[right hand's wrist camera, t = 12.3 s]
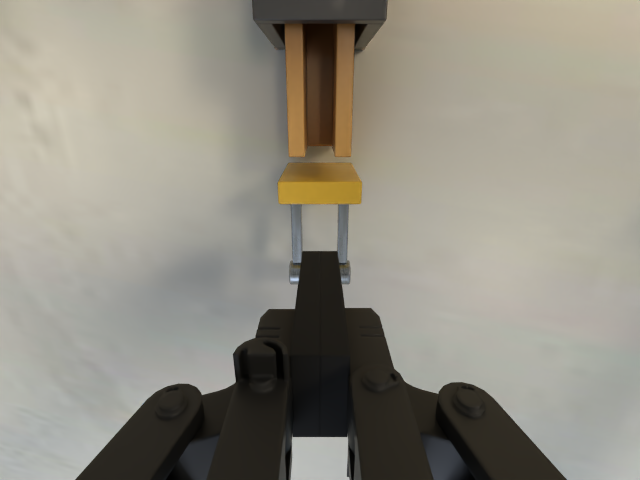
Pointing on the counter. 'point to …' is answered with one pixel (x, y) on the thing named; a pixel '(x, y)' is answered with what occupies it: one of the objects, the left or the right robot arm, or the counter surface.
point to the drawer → (319, 129)
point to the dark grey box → (319, 17)
